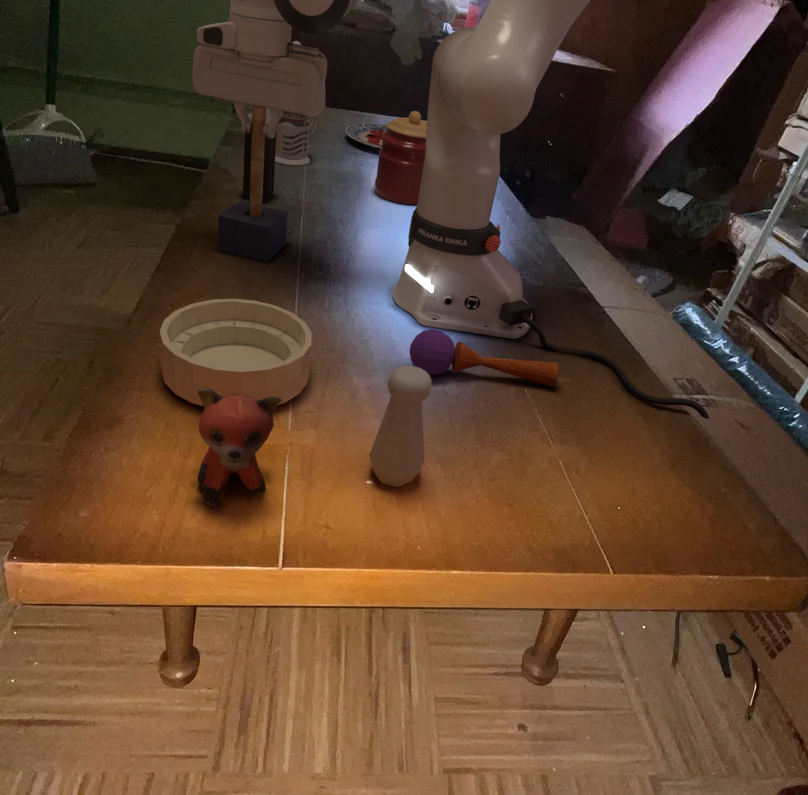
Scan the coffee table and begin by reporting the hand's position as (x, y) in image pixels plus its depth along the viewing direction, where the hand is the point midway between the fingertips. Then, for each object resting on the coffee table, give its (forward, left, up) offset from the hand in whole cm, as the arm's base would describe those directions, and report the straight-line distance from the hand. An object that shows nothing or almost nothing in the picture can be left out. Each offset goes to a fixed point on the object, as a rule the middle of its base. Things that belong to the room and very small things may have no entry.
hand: (258, 135), depth 114 cm
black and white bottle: (+9, -24, -19) cm, 32 cm away
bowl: (-14, +38, -19) cm, 45 cm away
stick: (0, 0, -14) cm, 14 cm away
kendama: (-43, +24, -19) cm, 53 cm away
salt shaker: (-37, +49, -19) cm, 64 cm away
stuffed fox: (-22, +56, -19) cm, 63 cm away
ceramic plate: (-4, -84, -19) cm, 86 cm away
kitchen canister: (-16, -45, -19) cm, 51 cm away
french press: (+13, -54, -19) cm, 59 cm away
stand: (0, 0, -19) cm, 19 cm away
